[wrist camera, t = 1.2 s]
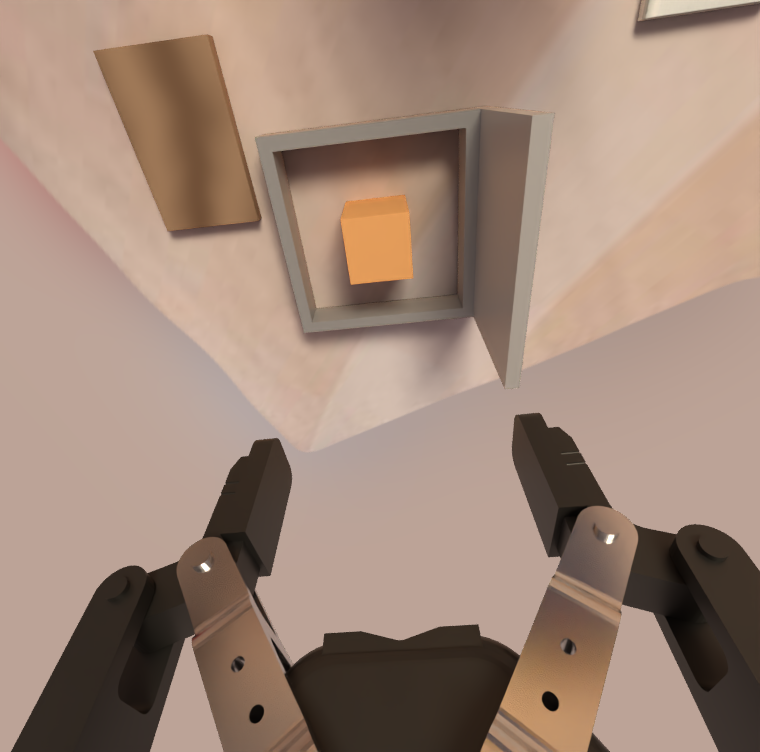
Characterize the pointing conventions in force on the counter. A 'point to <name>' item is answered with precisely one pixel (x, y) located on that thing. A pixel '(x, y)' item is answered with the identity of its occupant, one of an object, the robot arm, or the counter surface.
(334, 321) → the case
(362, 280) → the block
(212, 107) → the board
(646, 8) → the hard drive
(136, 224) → the counter surface
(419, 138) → the counter surface
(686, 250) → the counter surface
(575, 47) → the counter surface
